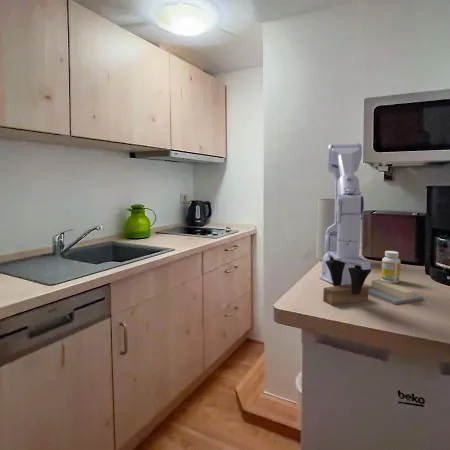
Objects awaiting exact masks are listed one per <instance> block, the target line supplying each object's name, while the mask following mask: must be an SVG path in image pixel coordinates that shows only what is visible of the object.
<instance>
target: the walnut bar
mask: <svg viewBox="0 0 450 450" xmlns="http://www.w3.org/2000/svg"><path fill="white" fill-rule="evenodd" d="M369 287H370V286H368V285H366V284H363V286H362V289H361V292H360V294H355V295H354V294H352V290H351V284H347V285H340V286H333V285H332V286H326V287H325V286H324V287H323V295H322V296H323V298H322V299H323V300H322V301H323V302H324V303H326V304H328V305H330V306H337V305H345V304H350V303H357V302H363V301H369V294H368V291H369Z"/></svg>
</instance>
